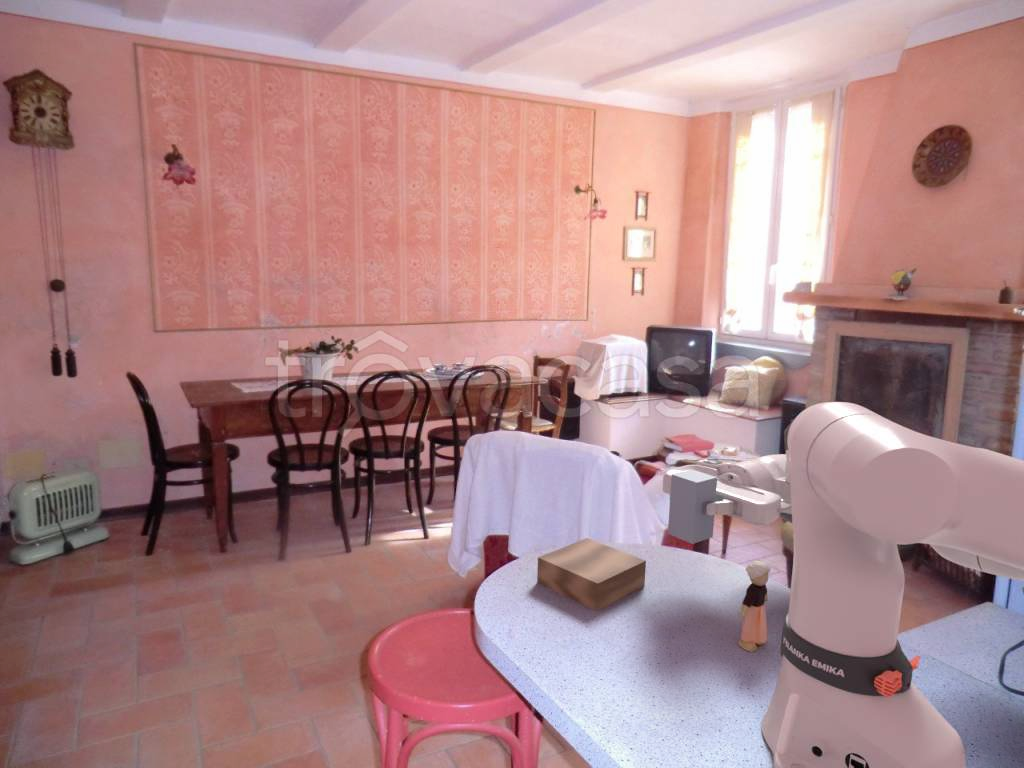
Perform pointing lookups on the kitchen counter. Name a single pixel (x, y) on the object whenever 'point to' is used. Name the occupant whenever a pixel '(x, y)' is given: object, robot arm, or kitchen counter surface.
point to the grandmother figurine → (755, 607)
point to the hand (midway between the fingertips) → (688, 503)
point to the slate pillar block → (691, 506)
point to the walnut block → (591, 573)
